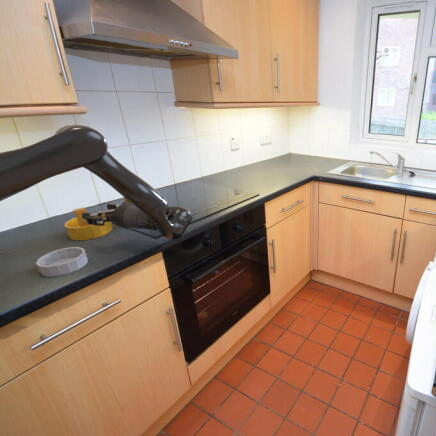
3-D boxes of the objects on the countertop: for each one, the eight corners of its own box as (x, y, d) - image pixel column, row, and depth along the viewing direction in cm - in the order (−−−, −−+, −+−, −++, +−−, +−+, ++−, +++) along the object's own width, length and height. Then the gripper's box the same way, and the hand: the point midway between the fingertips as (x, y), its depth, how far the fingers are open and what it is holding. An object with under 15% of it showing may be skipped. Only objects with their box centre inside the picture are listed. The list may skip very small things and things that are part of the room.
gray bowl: (65, 278, 85) (61, 267, 83) (30, 275, 86) (25, 265, 84) (97, 257, 95) (93, 248, 94) (65, 255, 96) (61, 246, 95)
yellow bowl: (93, 241, 105) (89, 228, 103) (59, 239, 106) (54, 226, 104) (121, 225, 117) (117, 214, 115) (90, 224, 118) (86, 212, 116)
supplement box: (93, 231, 111) (85, 206, 107) (94, 234, 109) (86, 209, 105) (82, 234, 109) (73, 208, 105) (83, 237, 107) (74, 211, 103)
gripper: (149, 198, 102) (112, 194, 106) (111, 214, 90) (71, 208, 94) (153, 218, 105) (117, 213, 109) (118, 236, 93) (78, 229, 97)
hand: (96, 211), depth 101 cm, fingers open, 8 cm apart
